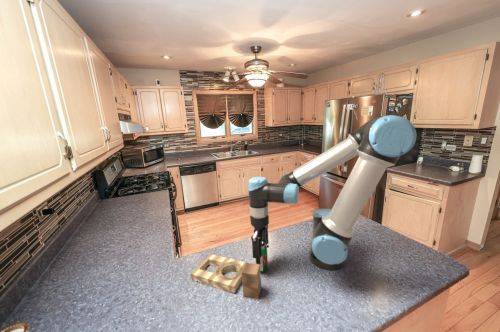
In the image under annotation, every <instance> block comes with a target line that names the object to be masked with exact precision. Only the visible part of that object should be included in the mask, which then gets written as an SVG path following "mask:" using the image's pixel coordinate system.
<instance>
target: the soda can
mask: <svg viewBox="0 0 500 332" xmlns="http://www.w3.org/2000/svg"><path fill="white" fill-rule="evenodd" d="M267 245H268V244H267ZM267 245H266V243H265V242H264V241H262V248H261V256H262V262H263V271H260V273H266V272H267V271H268V269H269V262H268V248H267Z"/></svg>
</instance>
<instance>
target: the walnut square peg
mask: <svg viewBox="0 0 500 332" xmlns="http://www.w3.org/2000/svg"><path fill="white" fill-rule="evenodd" d="M241 284H242V296H243V297H242V298H247V299H252V300H253V299H254V300H259V297H260V293H261V290H262V281H261V272H260V264H256V263H251V262H250V263H249V262H246V263H245V266H244V268H243V271H242V283H241Z"/></svg>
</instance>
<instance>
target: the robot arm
mask: <svg viewBox="0 0 500 332" xmlns="http://www.w3.org/2000/svg"><path fill="white" fill-rule="evenodd" d="M347 136H348V137H347V138H346V139H345V138H344V140H342V141H341V142H338V143H337V144H335V145H334V146H332V147H331V148H329V149H326V150H325V151H324V152H322V153H321V154H318V155H317V156H315V157H314V158H312V159H311V160H309V161H307V162H306V163H304V164H302V165H300V166H299V167H297V168H295V169H294V170H292V171H290V172H289V173H285V174H283V176H281V177H280V178H279V181H278V182H277V183H276V182H272V183H271V182H268V179H267V177H263V176H254V177H251V178H250V179H249V180H248V200H249V201H248V202H249V206H248V208H249V215H250V217H249V219H250V225H251V226H252V227H253V228H254V229H253V235H251V237H250V239H251V248H252V250H251V251H252V258H253V259H255V264H260V271H263V262H262V256H261V248H262V241H264V242H265V243H266V245H267V249H268V248H269V247H270V246H269V243H270V242H269V224H270V219H269V218H270V216H269V214H270V213H269V203H276V204H286V205H287V204H288V205H292V204H293V205H294V204H298V202H299V198H300V195H299V194H300V188H302V186H304V185H306V184H308V183H310V182H311V181H313V180H315V179H318V178H319V177H321V176H322V175H324V174H326V173H328V172H330V171H332V170H334V169H335V168H337V167H339V166H340V165H343V164H344V163H346V162H348V161H349V160H351V159H353V158H355V157H357V156H358V158H357V160H356V162H355V164H354V166H353V168H352V170H351V172H350V174H349V175H348V177H347V179H346V181H345V183H344V185H343V186H342V188H341V191H340V193H339V195H338V196H337V198H336V200H335V202H334V204H333V206H332V207H331V208H317V209H315V210H313V212H312V238H311V246H310V248H309V250H308V258H309V261H310V262H311V263H312V264H313V265H314V266H316V267H318V268H319V269H323V270H328V271H336V270H340V269H342V268H343V267H344V266H345V264H346V259H347V258H348V253H349V249H348V246H349V244H350V243H351V241H352V239H353V237H354V235H355V234H354V231H353V227H354V225H355V224H356V222H357V220H358V218H359V216H360V215H361V213H362V211H363V210H364V209H365V206H367V203H368V202H369V200H370V198H371V196H372V194H373V192H374V191H375V189H376V187H377V185H378V184H379V183H380V180H381V179H382V177H383V175H384V173H385V172H386V170H387V169H388V168H390V167H393V166H395V165H396V164H397V162H398V161H399V159H400V157H401V156H403V155H405V154H406V153H408V152H409V151H410V150H412V148H413V147H414V146H415V144H416V141H417V130H416V128H415V125H414V124H413V123H412V122H411V120H409V119H408V118H405V117H403V116H400V115H396V114H395V115H394V114H390V115H383V116H376V117H373V118H371V119H369V120H367V121H366V122H365V123H364V124H363V125H361V126H359V127H358V128H356V129H355V130H354V131H352V132H351V133H349V134H348V135H347Z"/></svg>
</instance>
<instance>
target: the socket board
mask: <svg viewBox="0 0 500 332" xmlns="http://www.w3.org/2000/svg"><path fill="white" fill-rule="evenodd" d="M245 263H247V262H245V261H241V260H238V259H234V258H230V257H225V256H220V255H216V254H212V253H210V254H209V255H208V256H206V258H205V259H204V260H203V261H202V262H201V263H200V264H199V265H198V266H197V267H196V268H194V270H193V271H192V272H191V273H190V279H192V280H191V281H193V280H195V281H194V282H196V281H198V282H197V283H199V282H201V283H200V284H202V283H205V284H207V285H206V286H208V285H211V286H210V287H212V286H213V287H212V288H215V287H216V288H215V289H218V288H219V290H221V289H222V290H221V291H224V290H225V292H228V293H231V294H235V293H237V291H238V289H239V287H240V286H241V284H242V271H243V268H244V266H245ZM209 264H210V265H209ZM208 265H209V266H211V265H214V266H213V267H215V266H218V267H216V269H215V270H214V272H210V271H207V270H206V269H207V268H208V267H209V266H208ZM207 266H208V267H207ZM206 267H207V268H206ZM205 268H206V269H205ZM204 269H205V270H204ZM228 271H229V272H234V271H235V272H234V273H235V274H234V275H232V276H225V274H226V273H228ZM225 272H226V273H225ZM205 284H204V285H205Z"/></svg>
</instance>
